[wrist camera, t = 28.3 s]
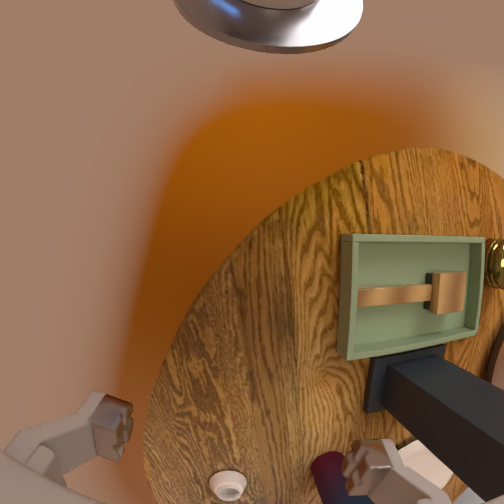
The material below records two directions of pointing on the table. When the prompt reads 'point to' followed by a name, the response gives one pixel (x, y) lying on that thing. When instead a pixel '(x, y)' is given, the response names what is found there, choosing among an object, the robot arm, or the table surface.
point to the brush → (420, 293)
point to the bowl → (497, 362)
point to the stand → (444, 413)
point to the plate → (425, 463)
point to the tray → (398, 273)
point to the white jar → (228, 485)
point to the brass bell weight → (494, 263)
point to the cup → (333, 481)
